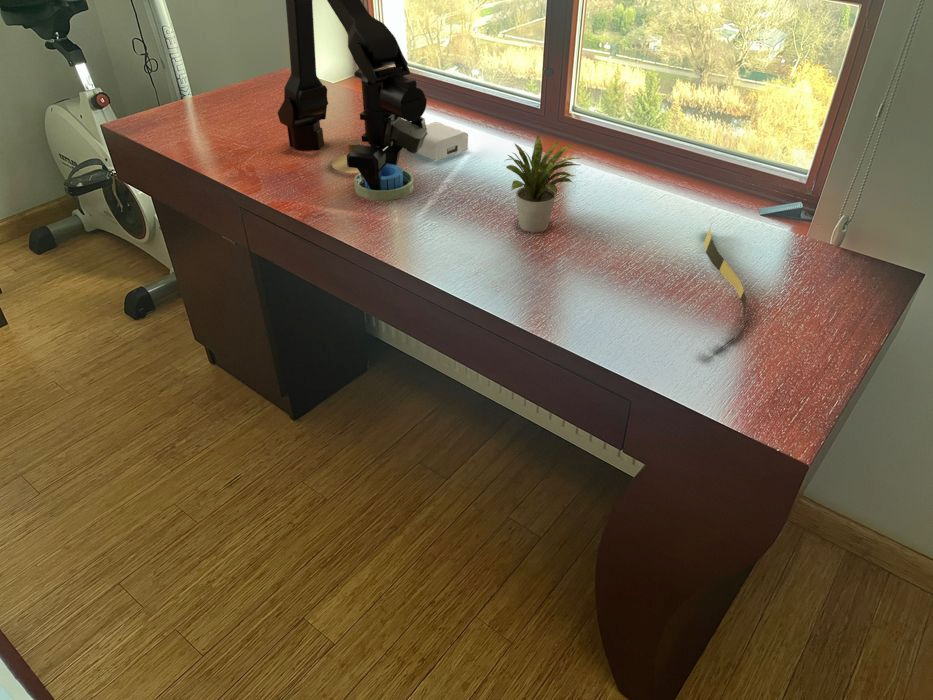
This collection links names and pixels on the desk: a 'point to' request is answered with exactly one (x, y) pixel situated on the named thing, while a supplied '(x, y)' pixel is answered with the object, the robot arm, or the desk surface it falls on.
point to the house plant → (537, 185)
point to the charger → (443, 141)
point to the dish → (384, 194)
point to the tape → (724, 271)
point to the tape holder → (341, 161)
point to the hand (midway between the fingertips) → (384, 185)
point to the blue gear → (390, 178)
